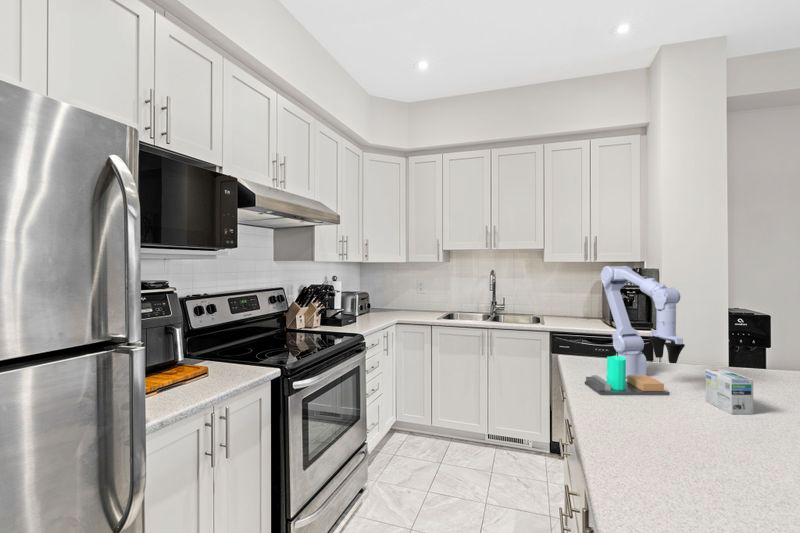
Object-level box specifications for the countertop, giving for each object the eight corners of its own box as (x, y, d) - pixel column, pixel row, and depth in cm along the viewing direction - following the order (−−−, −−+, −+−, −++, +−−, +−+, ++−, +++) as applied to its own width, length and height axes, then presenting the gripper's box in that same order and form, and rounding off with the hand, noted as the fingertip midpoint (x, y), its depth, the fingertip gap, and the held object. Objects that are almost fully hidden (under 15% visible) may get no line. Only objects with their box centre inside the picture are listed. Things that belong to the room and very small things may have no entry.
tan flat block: (646, 381, 145) (646, 375, 144) (664, 391, 135) (664, 383, 134) (627, 381, 145) (627, 375, 145) (643, 391, 135) (643, 383, 135)
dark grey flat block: (647, 383, 146) (647, 374, 145) (668, 395, 134) (668, 385, 133) (584, 383, 146) (584, 374, 146) (600, 395, 134) (600, 385, 134)
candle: (623, 385, 141) (623, 352, 141) (628, 390, 135) (628, 356, 135) (605, 383, 143) (605, 350, 143) (608, 389, 137) (608, 354, 137)
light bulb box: (754, 414, 117) (754, 378, 117) (731, 414, 117) (731, 378, 117) (725, 401, 128) (725, 368, 127) (704, 401, 128) (704, 368, 127)
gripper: (642, 318, 146) (642, 355, 147) (667, 325, 132) (667, 365, 132) (661, 318, 146) (661, 355, 146) (689, 325, 132) (689, 365, 132)
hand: (665, 360), depth 139 cm, fingers open, 7 cm apart
